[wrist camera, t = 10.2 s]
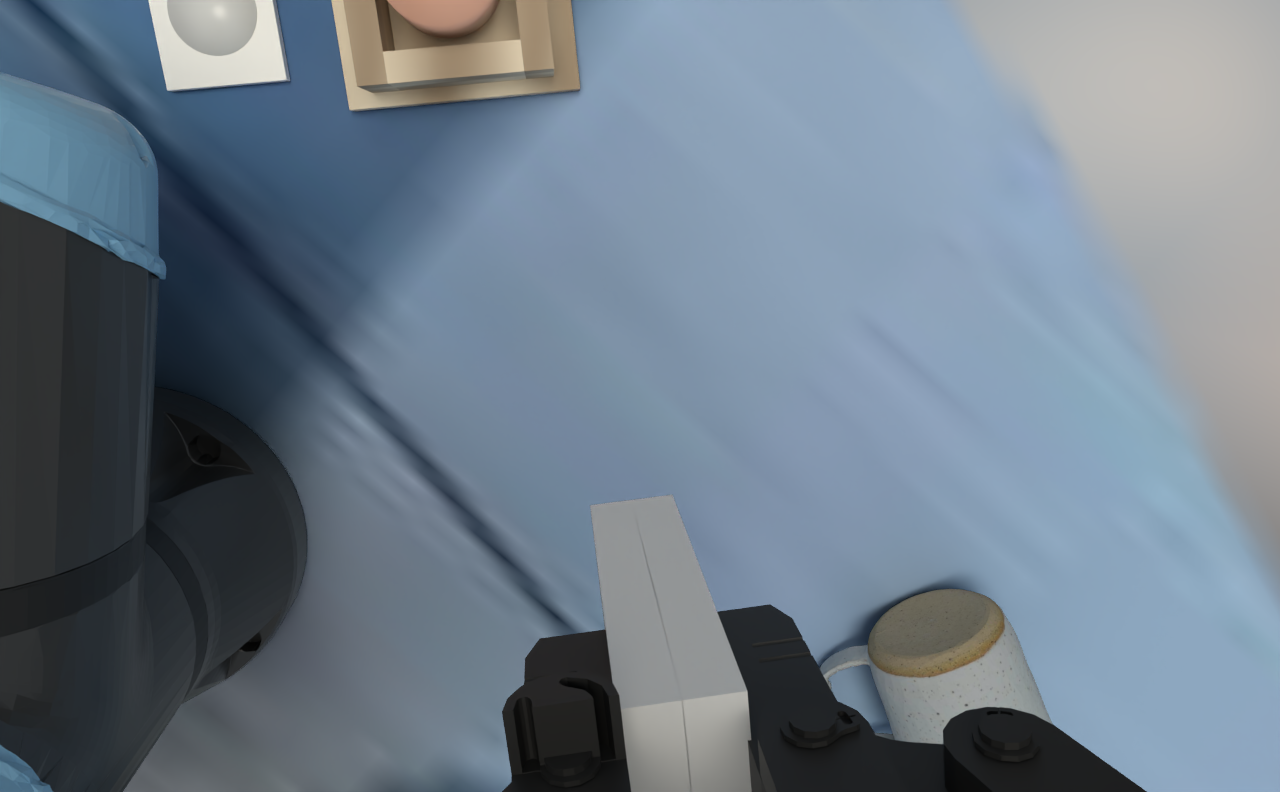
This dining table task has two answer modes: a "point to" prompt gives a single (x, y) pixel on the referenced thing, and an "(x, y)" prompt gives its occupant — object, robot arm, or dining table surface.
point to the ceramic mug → (942, 663)
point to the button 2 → (446, 15)
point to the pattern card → (219, 43)
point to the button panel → (455, 55)
